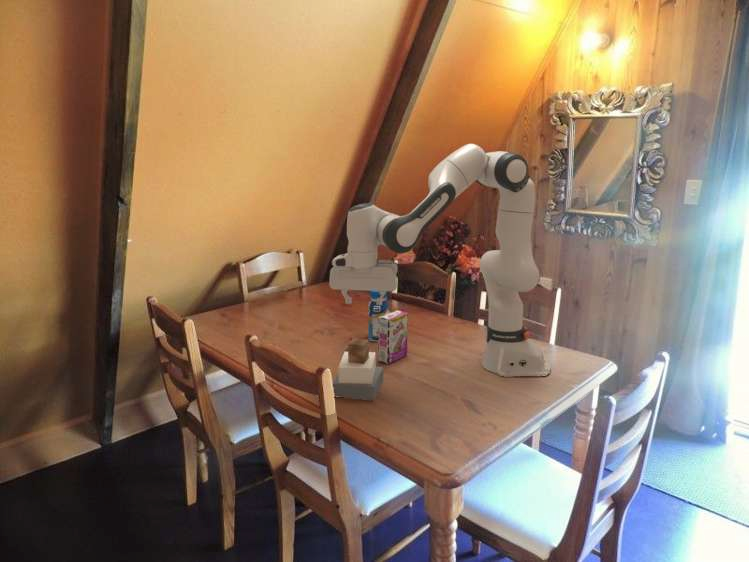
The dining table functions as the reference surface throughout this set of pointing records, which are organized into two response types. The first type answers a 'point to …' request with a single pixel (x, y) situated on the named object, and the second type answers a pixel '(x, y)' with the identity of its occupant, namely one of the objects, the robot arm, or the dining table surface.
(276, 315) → the dining table surface
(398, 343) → the candy bar box
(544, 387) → the dining table surface
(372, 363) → the tower top
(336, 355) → the dining table surface
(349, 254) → the robot arm
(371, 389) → the tower base
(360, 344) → the walnut block
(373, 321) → the beverage bottle
